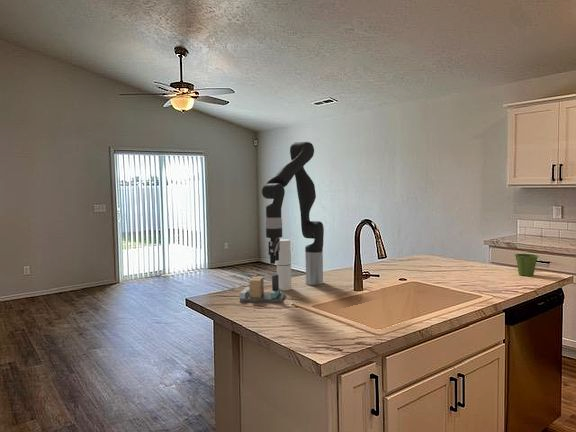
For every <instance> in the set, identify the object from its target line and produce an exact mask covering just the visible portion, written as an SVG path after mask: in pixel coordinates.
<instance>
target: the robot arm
mask: <svg viewBox="0 0 576 432" xmlns="http://www.w3.org/2000/svg"><path fill="white" fill-rule="evenodd" d="M289 155H290V159H291V161H289V162H287V163H286V164H284V165H283V166H282V167H280V169H279V171H278V172H277V173H276V175H274V176H273V177H271V178H270V179H269V180H268V181H266V182H265V183H264V184H263V186H262V188H261V194H262V196H263V198H264V199H266V200H273V201H272V203H270V204H266V207H265V237H266V238H267V239H270V240H269V241H268V256H269V261H270V262H269V263H270V265H274V264H276V262H277V261H278V260H279V253H278V252H279V250H280V239H282V237H283V220H282V206H283V203H284V199H285V198H284V197H285V193H286V190H285V187H286V186H288V184H289V183H290V182H291V180H292V179H293V177H295V183H296V192H297V193H296V194H297V198H298V203H299V210H300V225H301V226H300V227H301V234H302V237H304V239H313V242H312V243H311V244H308V245H306V246H304V247H305V249H304V252H305V253H304V255H305V285H309V286H320V285H323V284H324V256H323V255H324V251H323V250H324V234H325V230H324V229H325V228H324V224H323V222H322V221H319V220H312V221H311V219H310V213H311V209H312V208H313V205H314V203H315V201H316V198H317V195H316V186H315V182H314V181H313V179H312V178H311V177H310V175H309V174H308V172H307V171H306V170H305V167H304V166H305V165H306V164H307V163H309V162H310V161H311V159H312V158H313V157H314V155H315V147H314V145H313V143H312V142H311V141H310V142H309V141H299V142H298V141H297V142H292V143H291V144H290V147H289Z"/></svg>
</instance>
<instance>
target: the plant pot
mask: <svg viewBox="0 0 576 432" xmlns="http://www.w3.org/2000/svg"><path fill="white" fill-rule="evenodd" d="M514 256H515V261H516V266H517V272H518V275H519V276H522V277H523V276H524V277H533V276H534V274H535V269H536V265H537V261H538V257H539V256H540V255H537V254H533V253H515V254H514Z"/></svg>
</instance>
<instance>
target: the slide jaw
mask: <svg viewBox="0 0 576 432" xmlns="http://www.w3.org/2000/svg"><path fill="white" fill-rule="evenodd" d="M271 285H272V287H271V292H270V294H271V298H277V296H278V295H279V294H280V293H281V290H280V287H279V276H278V275H277V273H276V274H272V275H271Z"/></svg>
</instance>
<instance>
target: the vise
mask: <svg viewBox="0 0 576 432" xmlns="http://www.w3.org/2000/svg"><path fill="white" fill-rule="evenodd" d="M270 293H271V292H270V291H269V292H268V291H265V292H264V294H263V295H262V296H261V297H260V298H252V297H250V289H249V286H245V287H244V289H243V290H242V291H240V292H239V302H240V303H270V304H271V303H274V304H275V303H277V304H281V303H282V302H283V300H285V298H286V293H285V292H280V294H279V295H278V296H277V298H271V294H270Z"/></svg>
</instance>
